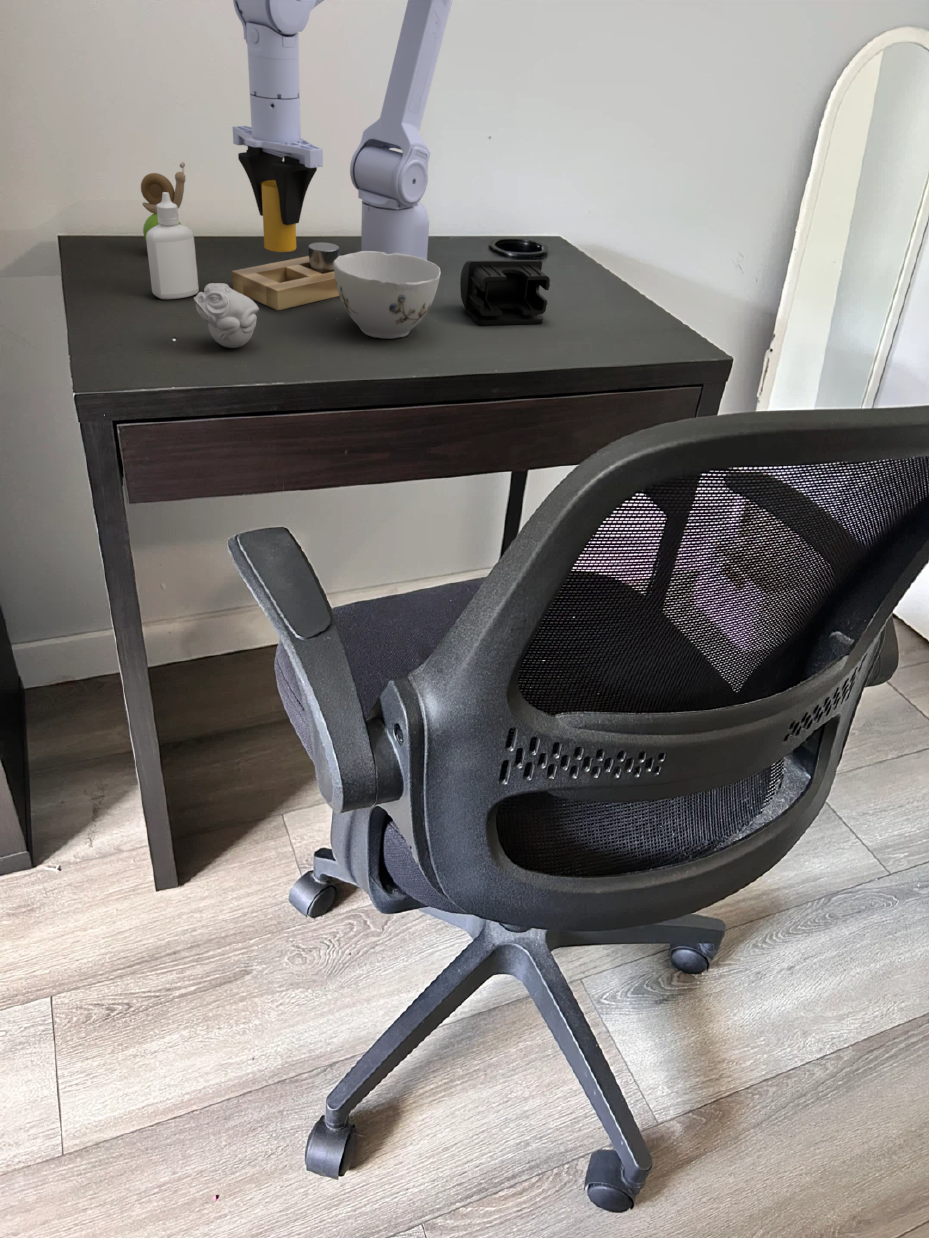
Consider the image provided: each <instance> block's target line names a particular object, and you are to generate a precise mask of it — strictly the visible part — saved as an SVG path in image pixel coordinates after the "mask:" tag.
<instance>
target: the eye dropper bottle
mask: <svg viewBox="0 0 929 1238" xmlns="http://www.w3.org/2000/svg"><path fill="white" fill-rule="evenodd" d="M156 207H157V216H158V223H159V225H157V226H155V227H153V228H151V229H150V230H149V231H148V232H147V234H146V240H145V242H146V241H147V242H146V251H147V258H148V265H149V266H148V269H149V276H150V285H151V292H152V294H153V296H155V297H156V298H159V299H160V300H179V299H186V298H189V297H192V296H193V297H194V295H197V294H198V293H199V292H200V291H199V290H200V289H199V288H200V287H199V278H198V277H199V276H198V265H197V255H196V245H195V236H194V233H193V231H192V229H191V228H189V227H187V226H185V225H183V224H181V225H180V224H178V223H179V222H180V218H179V208H178V206H177V205H176V204H174V203H172V202H171V199H170V196H169V193H168V192H163V194H162V201H161V203H159V204H157V205H156Z"/></svg>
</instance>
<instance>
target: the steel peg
mask: <svg viewBox="0 0 929 1238" xmlns="http://www.w3.org/2000/svg"><path fill="white" fill-rule="evenodd" d="M308 256H309V269H311V270H314V271H316V272H319V273H321V274H324V273H329V272H334V260H336V258H337V257H339V256H340V246H339V245H337V244H334V243H330V242H320V241H319V242H312V243H310V244H309V245H308Z"/></svg>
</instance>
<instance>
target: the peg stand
mask: <svg viewBox="0 0 929 1238" xmlns="http://www.w3.org/2000/svg"><path fill="white" fill-rule="evenodd" d="M231 280H232V281H231V282H232V284H231V285H232V289H233V290H235V291H237V292H238V293H241V294H243V295H245V296H247V297H248V298H250V299H251V300H253V301H255V302H258V303H260V304H262V305H265V306H267V307H269V308H271V309H274V310H275V311H282V310H285V309H290V308H294V307H299V306H303V305H307V304H311V303H315V302H319V301H324V300H328V299H333V298H336V297H340V296H339V293H338V289H337V285H336V281H335V274H334V272H329V273H324V274H321V273H319V272H316V271H314V270H311V269H309V255H305V256H302V257H296V258H291V259H287V260H281V261H276V262H270V263H267V264H260V265H255V266H250V267H246V268H239V269H235V270H231Z"/></svg>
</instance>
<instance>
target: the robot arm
mask: <svg viewBox="0 0 929 1238" xmlns="http://www.w3.org/2000/svg"><path fill="white" fill-rule="evenodd" d="M324 1H325V0H232V4H233V9H234V11H235V14H236V16H237V17H238V19H239V21H240V22H241V25H242V29H243V39H244V40H245V44H246V45H247V46H246V47H247V67H248V88H249V104H250V126H249V125H237V126H236V125H235V126H232V127H231V129H232V141H233V142H232V143H233V145H236V146H244V147H247V149H246V151H244V152H238V153H237V158H238V159H237V160H238V161H239V162H240V164H241V166H242V168H243V169H244V171H245V174H246V176H247V178H248V180H249V183H250V186H251V189H252V192H253V196H254V198H255V199H254V200H255V202H256V206H257V210H258V213H259V216H261V217H263V207H262V185H261V183H262V182H264V181H269V180H275V181H276V184H277V188H278V193H279V201H280V212H281V218H282V222H283V224H285V225H290V224H296V225H297V224H299V223H300V219H301V215H302V209H303V206H304V201H305V199H306V198H305V197H306V194H307V191H308V188H309V186H310V184H311V181H312V180H313V178H314V176H315V174H316V173H317V171H318V168H323V167H324V149H323V148H322V147H319V146H316V145H314V144H313V143H311V142H309V141H308V140H307V139H306V140H305V139H304V138H303V137H301V136H302V135H301V96H300V95H301V94H300V91H301V89H300V45H299V43H300V42H299V40H300V39H299V33H301V32H303V31H304V30H305V28H306V27H307V25H308V22H309V19H310V14H311V12H312V10H314V9H315V8H316V7H317V6H319V5H320V4H321V3H322V2H324ZM452 3H453V0H407V2H406V7H405V12H404V15H403V20H402V25H401V28H400V33H399V37H398V41H397V45H396V50H395V53H394V57H393V62H392V66H391V70H390V74H389V79H388V82H387V88H386V91H385V96H384V99H383V104H382V108H381V112H380V117H379V118H378V119H377V120H376V121H374V122H373V123H371V125H369V126H368V127H366V128H365V129H364V130H363V132H362V135H361V139H360V143H359V144H358V146H357V148H356V149H355V151H354V153H353V154H352V157H351V161H350V163H349V164H350V165H349V175H350V181H351V183H352V185H353V187H354V188H355V189H356V190H357V193H358V194H357V195H358V196H357V197H358V199H360V200H361V227H360V228H361V230H360V232H361V234H360V235H361V236H360V237H361V238H360V251H376V252H383V253H386V254H393V253H400V254H406V255H413V256H417V257H420V258H423V259H425V260H427V261H428V249H429V234H430V232H429V231H430V219H429V214H428V212H427V211H428V210H427V209H426V207H425V206H424V205H423V203H422V202H421V199H422V198H423V196H424V195H425V192H426V190H427V186H428V180H429V170H428V167H429V160H430V157H431V150H430V148H429V146H428V145H427V144H426V142H425V140H424V139H423V137H422V135H421V134H420V130H421V126H422V122H423V117H424V115H425V109H426V106H427V103H428V99H429V94H430V90H431V86H432V84H433V79H434V75H435V71H436V68H437V67H436V66H437V63H438V60H439V59H438V58H439V55H440V51H441V48H442V42H443V39H444V35H445V31H446V28H447V24H448V20H449V14H450V11H451V7H452ZM394 149H396V150H397V151H396V150H394ZM398 150H400V151H401V152H400V151H398Z"/></svg>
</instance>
